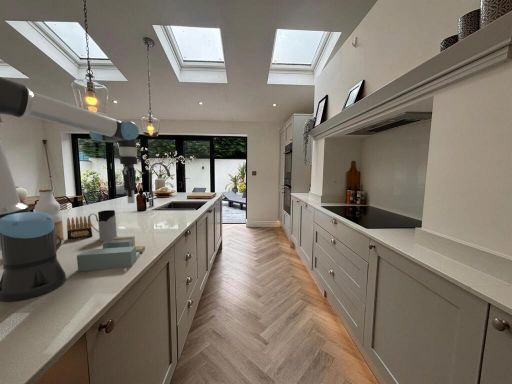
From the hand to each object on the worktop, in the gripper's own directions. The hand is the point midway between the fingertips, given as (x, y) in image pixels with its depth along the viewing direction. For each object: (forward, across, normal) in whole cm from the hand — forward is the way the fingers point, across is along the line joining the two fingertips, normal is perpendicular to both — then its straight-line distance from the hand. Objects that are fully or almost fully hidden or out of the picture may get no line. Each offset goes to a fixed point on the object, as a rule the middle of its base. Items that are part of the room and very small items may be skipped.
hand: (131, 203), depth 112 cm
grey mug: (+21, +10, +18) cm, 29 cm away
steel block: (+21, -20, 0) cm, 29 cm away
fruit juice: (+21, +3, +38) cm, 43 cm away
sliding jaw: (+20, -14, 0) cm, 25 cm away
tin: (+21, -10, +34) cm, 41 cm away
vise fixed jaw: (+20, -27, 0) cm, 34 cm away
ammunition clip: (+21, +14, +31) cm, 40 cm away
